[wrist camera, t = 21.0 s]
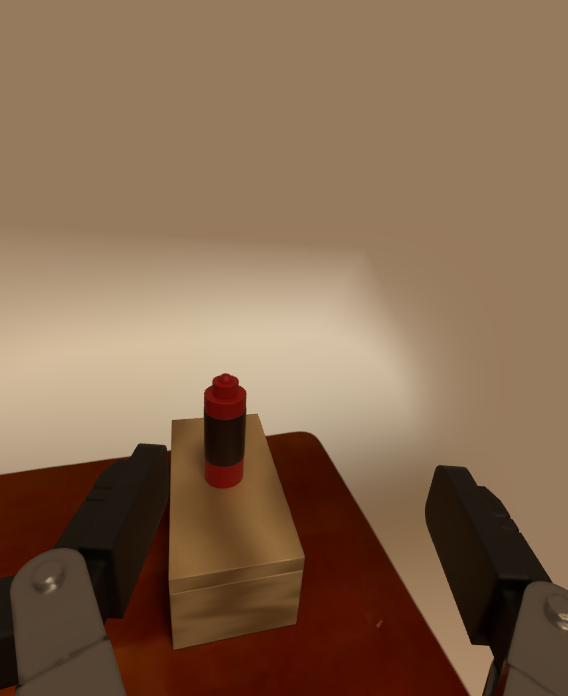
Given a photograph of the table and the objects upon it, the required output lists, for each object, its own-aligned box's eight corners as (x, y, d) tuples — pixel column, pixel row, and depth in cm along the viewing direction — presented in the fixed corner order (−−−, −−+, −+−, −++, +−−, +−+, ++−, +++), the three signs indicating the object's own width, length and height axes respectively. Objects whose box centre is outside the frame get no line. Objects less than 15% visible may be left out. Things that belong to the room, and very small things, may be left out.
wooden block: (254, 466, 51) (257, 413, 48) (296, 624, 33) (305, 557, 30) (174, 475, 49) (171, 419, 45) (172, 650, 31) (168, 580, 28)
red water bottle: (221, 457, 40) (222, 360, 36) (251, 472, 38) (256, 372, 34) (196, 478, 37) (193, 375, 33) (227, 495, 35) (229, 389, 31)
